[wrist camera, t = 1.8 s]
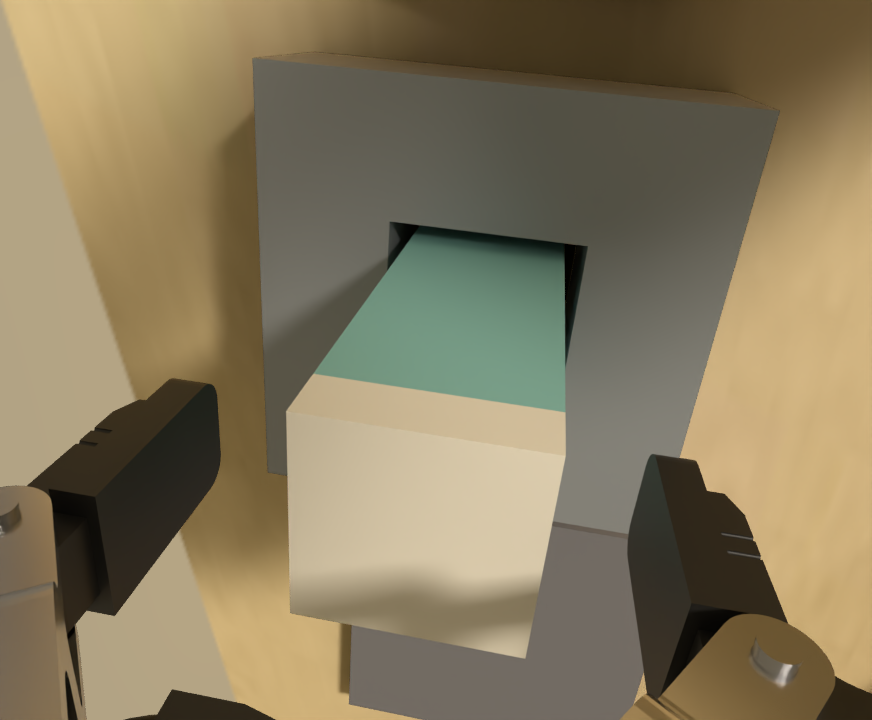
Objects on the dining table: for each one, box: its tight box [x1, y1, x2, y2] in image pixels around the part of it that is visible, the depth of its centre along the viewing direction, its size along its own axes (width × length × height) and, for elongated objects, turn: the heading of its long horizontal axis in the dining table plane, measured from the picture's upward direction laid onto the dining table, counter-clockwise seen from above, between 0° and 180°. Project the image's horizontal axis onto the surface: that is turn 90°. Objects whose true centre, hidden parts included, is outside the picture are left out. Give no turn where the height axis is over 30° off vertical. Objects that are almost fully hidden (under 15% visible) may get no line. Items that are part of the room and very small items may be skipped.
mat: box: [349, 521, 644, 720], centre depth 28 cm, size 12×12×1 cm
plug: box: [286, 225, 566, 659], centre depth 16 cm, size 4×4×13 cm
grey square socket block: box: [253, 52, 780, 534], centre depth 20 cm, size 12×12×4 cm
